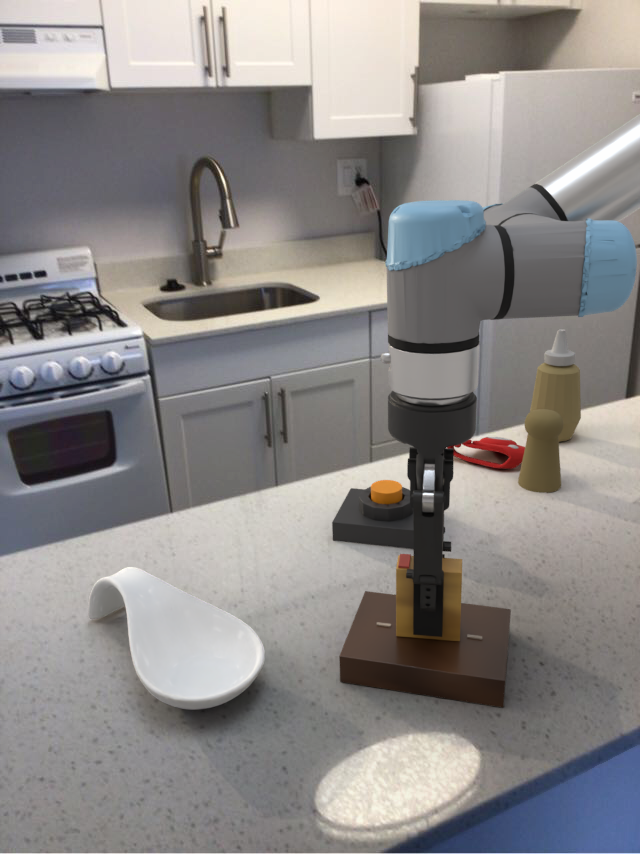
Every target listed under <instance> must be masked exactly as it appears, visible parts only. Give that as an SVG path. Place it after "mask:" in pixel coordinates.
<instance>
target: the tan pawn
mask: <svg viewBox="0 0 640 854" xmlns="http://www.w3.org/2000/svg"><path fill="white" fill-rule="evenodd" d="M524 429H525V431H526V433H527V437H526V441H525V446H524V447H525V451H524V455H523V460H522V463H521V464H520V470H519V475H518V479H517V483H518V486H519V487H520V488H522V489H524V490H526V491H530V492H533V493H541V494H542V493H545V494H550V493H554V492H557V491H559V490H560V489H561V488H562V476H561V475H562V473H561V459H560V458H561V457H560V442H559V441H558V436H559V435H560V433H561V432H562V429H563V419H562V417H561V415H560V414H559V413H557V412H555V411H552V410H546V409H539V410H534V411H531V412H530V411H529V412H528V414H527V415H526V417H525V419H524Z"/></svg>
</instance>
